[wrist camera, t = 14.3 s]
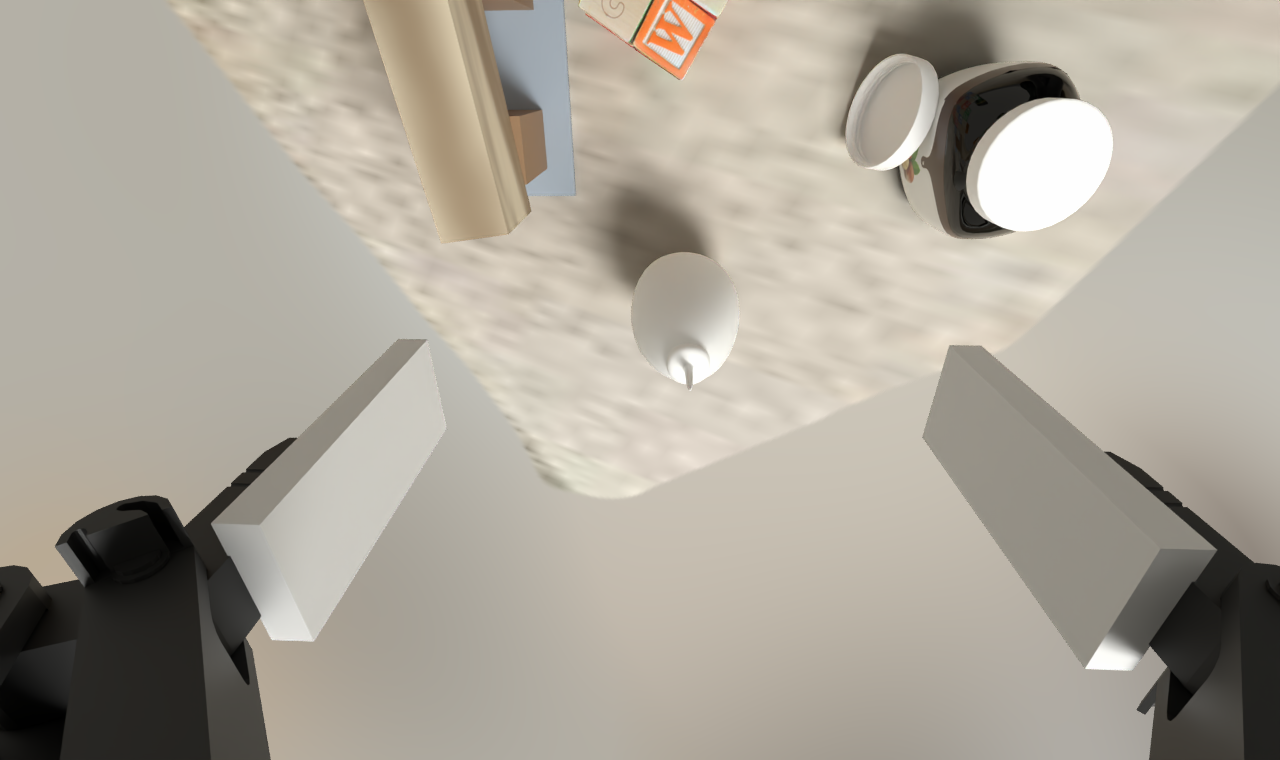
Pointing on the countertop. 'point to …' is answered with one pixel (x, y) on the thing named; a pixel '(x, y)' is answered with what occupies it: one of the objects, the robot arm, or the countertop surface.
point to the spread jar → (981, 143)
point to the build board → (536, 89)
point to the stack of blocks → (659, 27)
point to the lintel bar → (453, 113)
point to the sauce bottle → (685, 316)
